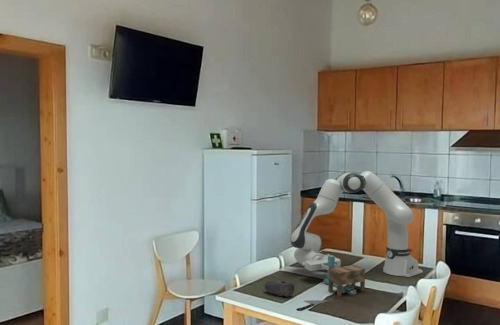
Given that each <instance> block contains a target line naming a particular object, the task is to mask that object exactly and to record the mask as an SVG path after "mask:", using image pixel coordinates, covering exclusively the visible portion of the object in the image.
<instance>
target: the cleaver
mask: <svg viewBox="0 0 500 325" xmlns="http://www.w3.org/2000/svg"><path fill="white" fill-rule="evenodd" d="M328 301H330V300H327V299H320V300H319V299H315V300H314V299H312V300H306V299H305V300H303V302H304V303H307V304H308V305H306V306H302V307H298V308H296V309H295V310H296V311H298V312H302V311H305V310H308V309H309V308H313V307H314V306H317V305H318V304H322V303H325V302H328Z"/></svg>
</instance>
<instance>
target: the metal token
mask: <svg viewBox="0 0 500 325" xmlns="http://www.w3.org/2000/svg"><path fill="white" fill-rule="evenodd" d="M346 294H347V295H351V296H356V295H357V289H355V288H354V289H347V292H346Z"/></svg>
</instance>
